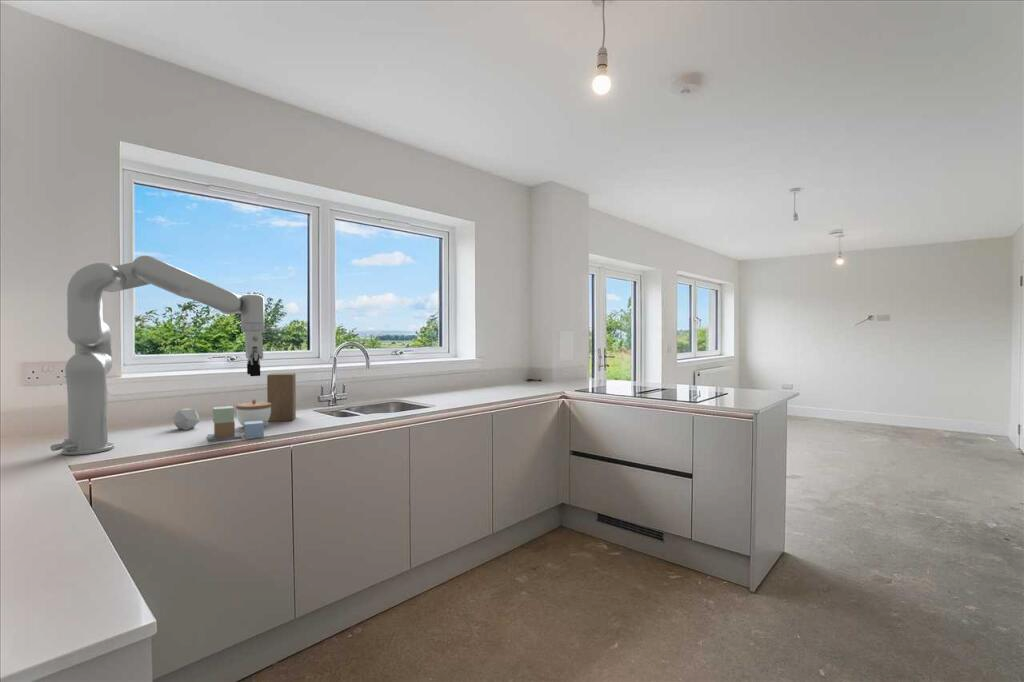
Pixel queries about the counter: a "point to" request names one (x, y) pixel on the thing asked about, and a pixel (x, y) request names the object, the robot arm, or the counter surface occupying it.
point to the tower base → (211, 437)
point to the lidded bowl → (253, 411)
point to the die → (186, 419)
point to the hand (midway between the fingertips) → (253, 375)
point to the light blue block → (253, 429)
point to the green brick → (223, 414)
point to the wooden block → (281, 396)
